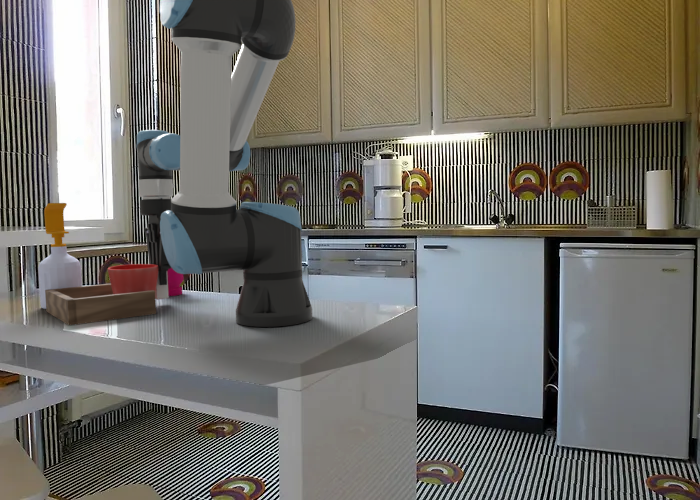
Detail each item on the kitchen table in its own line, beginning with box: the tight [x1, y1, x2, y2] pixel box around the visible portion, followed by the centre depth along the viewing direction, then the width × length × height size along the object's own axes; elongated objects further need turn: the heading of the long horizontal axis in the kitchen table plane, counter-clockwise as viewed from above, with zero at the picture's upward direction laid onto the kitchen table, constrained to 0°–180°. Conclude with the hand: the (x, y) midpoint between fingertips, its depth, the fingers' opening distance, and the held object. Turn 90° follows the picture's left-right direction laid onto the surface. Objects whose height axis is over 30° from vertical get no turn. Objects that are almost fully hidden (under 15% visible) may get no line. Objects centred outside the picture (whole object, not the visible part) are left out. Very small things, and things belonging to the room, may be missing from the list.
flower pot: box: [107, 263, 159, 294], centre depth 135 cm, size 11×11×10 cm
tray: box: [45, 283, 157, 326], centre depth 130 cm, size 21×18×5 cm
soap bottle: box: [37, 202, 83, 310], centre depth 140 cm, size 9×9×25 cm
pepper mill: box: [167, 268, 185, 297], centre depth 155 cm, size 7×7×20 cm
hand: (161, 298), depth 139 cm, fingers closed
